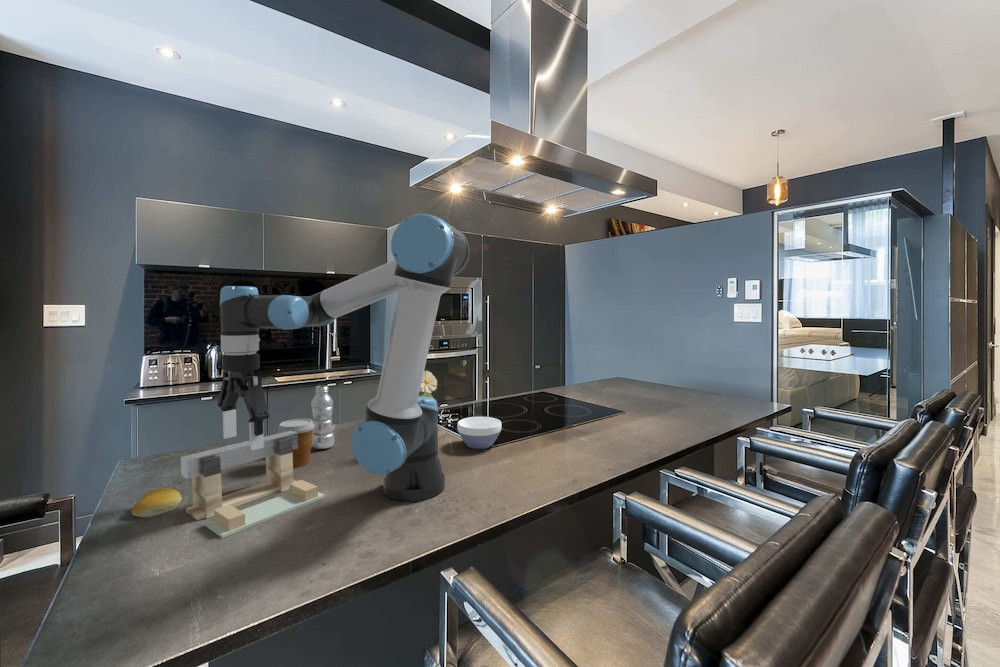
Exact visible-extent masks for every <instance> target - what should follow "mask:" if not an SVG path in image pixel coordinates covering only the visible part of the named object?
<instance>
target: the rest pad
mask: <svg viewBox="0 0 1000 667" xmlns="http://www.w3.org/2000/svg"><path fill="white" fill-rule="evenodd" d="M289 485H290V489H289V492H288V493H285V494H282V495H279V496H277V497H274V498H270V499H269V500H265V501H263V502H260V503H257V504H254V505H252V506H249V507H246V508H243V509H241V510H240V509H238V508H237V507H233V506H232V505H230V504H229V505H226V506H224V507H221V508H218V509H215V510H214V516H213V518H214V519H213V520H211V521H207V522H205V527H206V528H207V529H209V530H210V531H212V532H213V533H215V534H216V535H218V536H219V537H220V538H221V539H224V538H227V537H229V536H232V535H234V534H237V533H239V532H242V531H244V530H246V529H249V528H252V527H254V526H257V525H259V524H262V523H264V522H267V521H269V520H272V519H274V518H276V517H279V516H282V515H285V514H287V513H289V512H292V511H294V510H295V511H296V510H297V509H299V508H302V507H304V506H306V505H309V504H311V503H314V502H317V501H319V500H322V499H325V498H326V494H325V493H322V492H319V491H318V490H319V487H318V485H315V484H313V483H311V482H308V481H306V480H303V479H299V480H296V482H293V483H290V484H289Z"/></svg>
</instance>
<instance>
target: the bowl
mask: <svg viewBox="0 0 1000 667" xmlns="http://www.w3.org/2000/svg"><path fill="white" fill-rule="evenodd" d="M456 427H457V432H458V434H459V436H460V437H461V440H462V441H463V442H464V443H465V445H466V447H468V448H470V449H475V450H482V449H488V448H490V446H491V447H492V446H493V445H494V442H495V441H497V439H498V436H499V435H500V433H501V431H502V421H501V420H500V419H498V418H494V417H491V416H471V417H470V416H469V417H465V418H462V419H460V420H458V421H457V426H456Z"/></svg>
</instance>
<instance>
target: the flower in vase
mask: <svg viewBox="0 0 1000 667" xmlns="http://www.w3.org/2000/svg"><path fill="white" fill-rule="evenodd" d="M437 386H438V380H437V378H436V377H435V375H433V373H432V372H431V371H429V370H424V374H423V378H422V383H421V387H420V395H419V396H422V397H431V398H434V396H433V395H432V393H433V392H435V391H436V390H437V388H438V387H437Z"/></svg>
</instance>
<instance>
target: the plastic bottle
mask: <svg viewBox="0 0 1000 667" xmlns="http://www.w3.org/2000/svg"><path fill="white" fill-rule="evenodd" d="M314 392H315V396H314V397H313V399H312V400H311V403H310V406H311V412H312V417H313V418H312V419H313V420H312V421H313V424H314V428H313V432H312V441H311V444H312V446H313V448H314V449H315V450H324V449H325V450H326V449H330V448H331V447H333V446H334V444H335V435H334V430H333V420H332V419H333V408H334V400H333V398H332V397H331V395H329V385H326V384H323V385H317V386H315V391H314Z"/></svg>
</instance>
